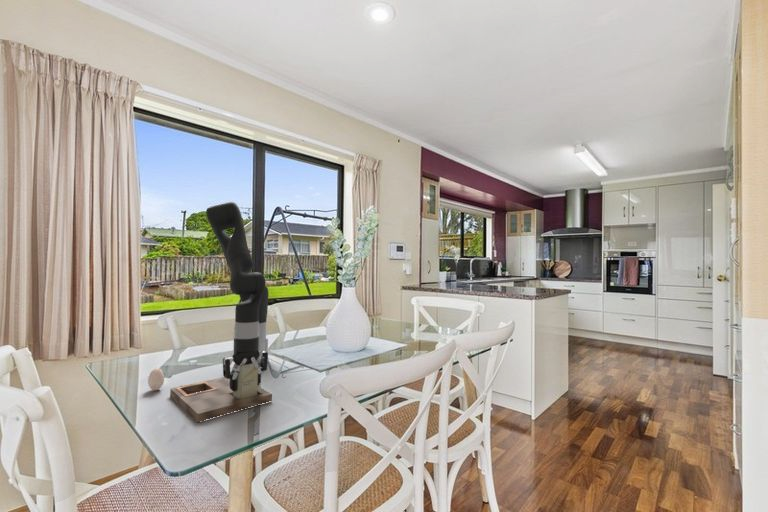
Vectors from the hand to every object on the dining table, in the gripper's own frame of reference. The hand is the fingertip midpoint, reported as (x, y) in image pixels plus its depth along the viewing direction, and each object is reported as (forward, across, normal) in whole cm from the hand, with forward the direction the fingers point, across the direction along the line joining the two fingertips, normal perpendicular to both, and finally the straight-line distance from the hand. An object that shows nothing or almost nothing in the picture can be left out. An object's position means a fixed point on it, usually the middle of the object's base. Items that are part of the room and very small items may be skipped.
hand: (245, 387), depth 116 cm
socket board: (+4, +5, -7) cm, 10 cm away
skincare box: (+5, 0, 0) cm, 5 cm away
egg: (+5, +18, -29) cm, 34 cm away
